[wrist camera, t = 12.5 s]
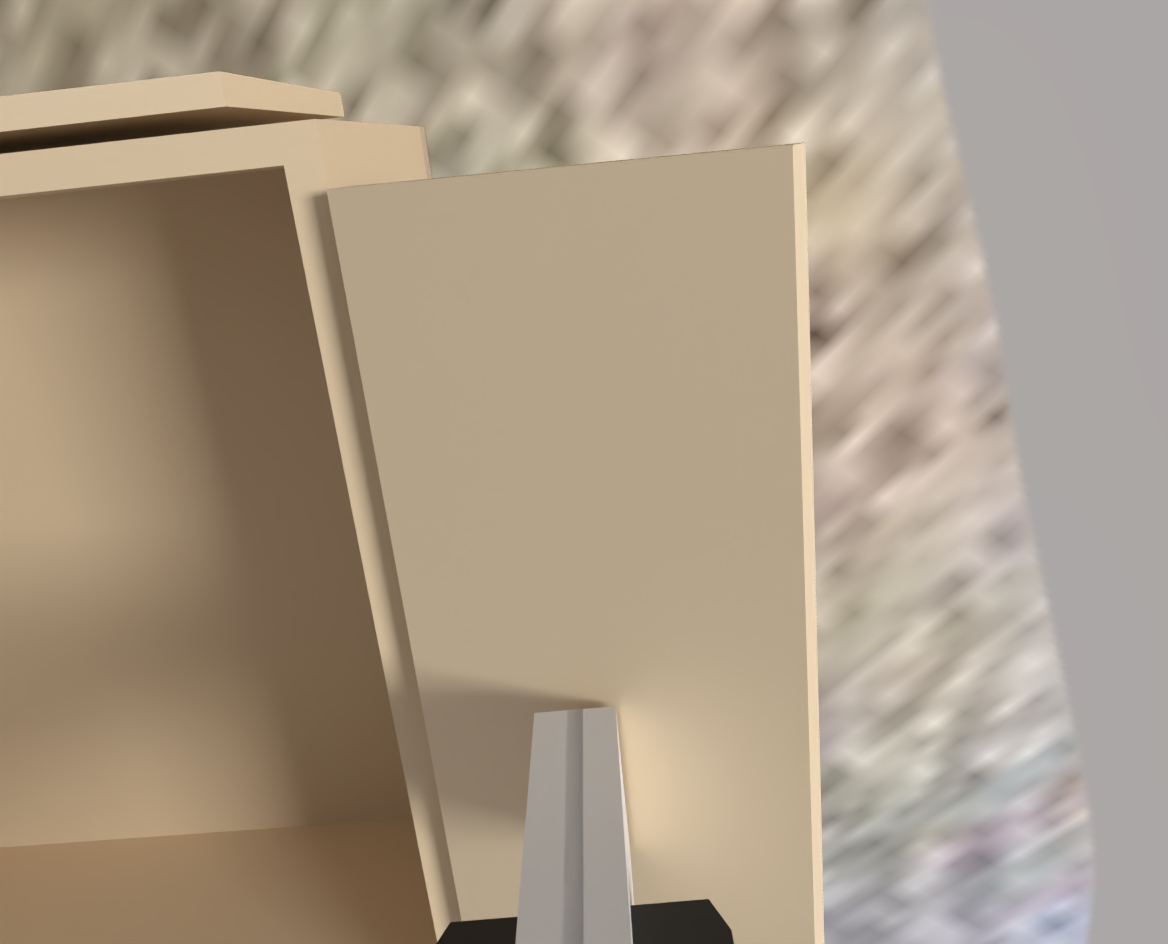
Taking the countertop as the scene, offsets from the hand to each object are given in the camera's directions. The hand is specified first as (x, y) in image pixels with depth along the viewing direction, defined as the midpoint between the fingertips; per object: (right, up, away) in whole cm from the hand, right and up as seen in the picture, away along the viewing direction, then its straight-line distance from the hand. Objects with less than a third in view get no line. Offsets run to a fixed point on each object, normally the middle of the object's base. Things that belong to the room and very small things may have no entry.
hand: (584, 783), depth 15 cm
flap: (-3, +1, +2) cm, 4 cm away
